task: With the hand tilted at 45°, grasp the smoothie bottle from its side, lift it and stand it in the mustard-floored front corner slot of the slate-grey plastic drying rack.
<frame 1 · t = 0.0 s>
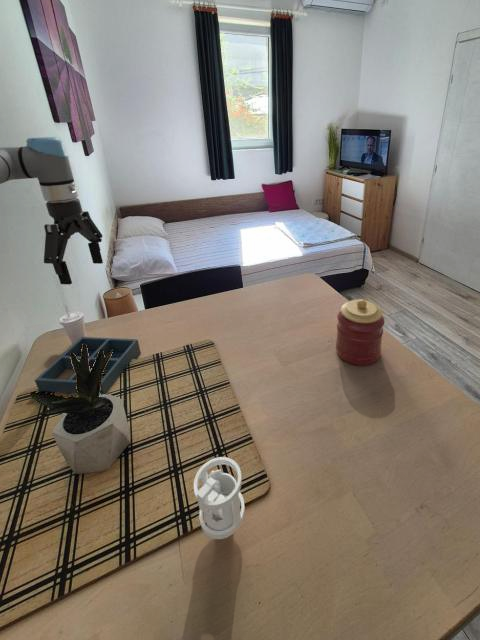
hand: (83, 272, 93), 24 cm above the table, tool pointing down, fingers open, 13 cm apart
kitchen canister: (357, 352, 96), on the table
strainer: (225, 533, 54), on the table
smoothie: (80, 343, 102), on the table
rack: (95, 372, 89), on the table
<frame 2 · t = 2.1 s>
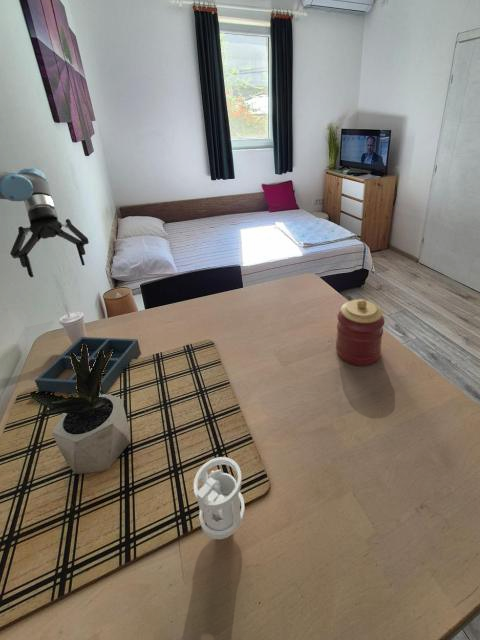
hand: (58, 269, 101), 22 cm above the table, tool tilted 45°, fingers open, 13 cm apart
nothing on the table moved.
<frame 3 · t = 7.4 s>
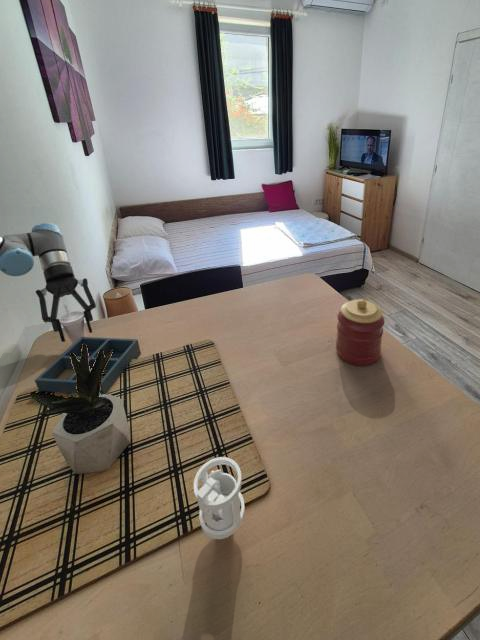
hand: (77, 335, 97), 5 cm above the table, tool tilted 45°, fingers closed on smoothie, 6 cm apart
smoothie: (80, 343, 102), on the table, touching gripper
everything else where it was.
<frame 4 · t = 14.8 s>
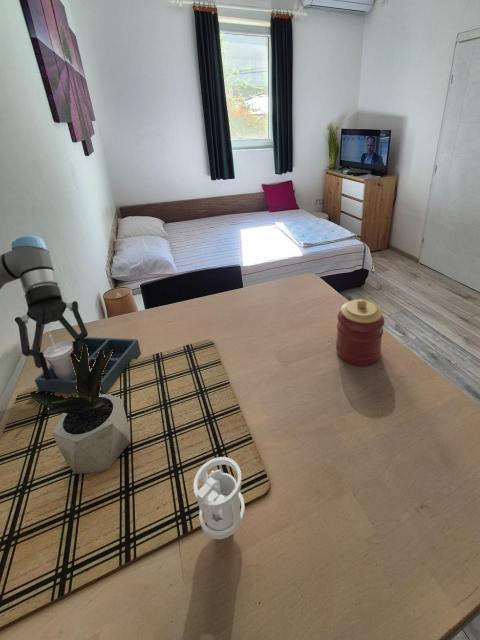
hand: (65, 371, 81), 6 cm above the table, tool tilted 45°, fingers closed on smoothie, 6 cm apart
smoothie: (69, 379, 85), point 1 cm above the table, touching gripper
everything else where it was.
when the fingers open (6 cm above the table, at t = 18.4 s): smoothie stays where it is, resting on rack.
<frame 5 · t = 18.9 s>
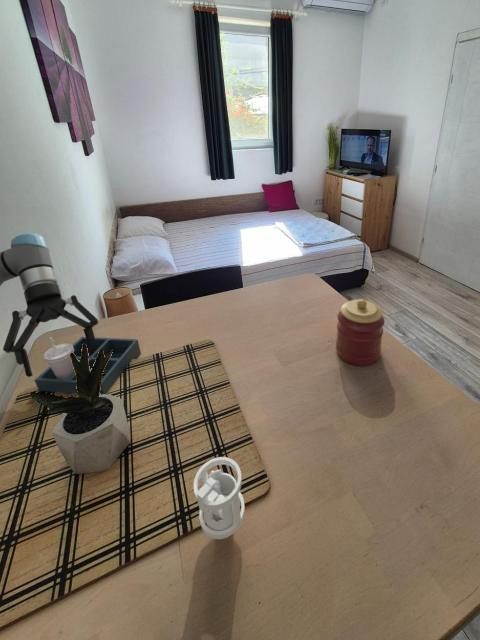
hand: (62, 363, 81), 8 cm above the table, tool tilted 45°, fingers open, 13 cm apart
smoothie: (69, 381, 86), point 1 cm above the table, touching rack
everything else where it was.
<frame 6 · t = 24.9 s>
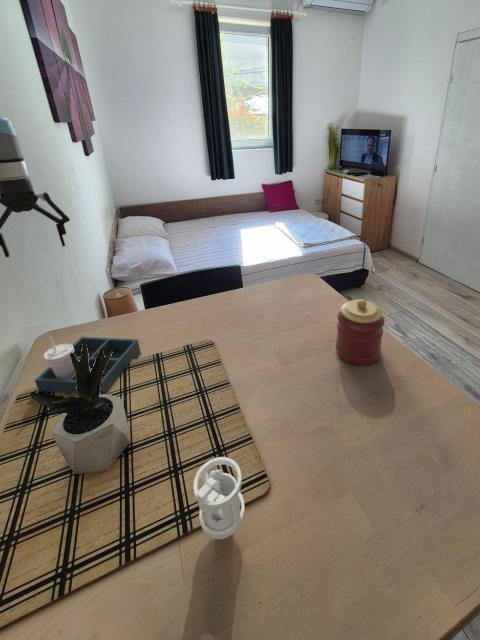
hand: (36, 250, 97), 29 cm above the table, tool pointing down, fingers open, 13 cm apart
nothing on the table moved.
at the end: smoothie 0.2 cm from the target spot in the rack, point 0.6 cm above the rack's base; smoothie tilted 0°; the gripper is holding nothing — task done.
